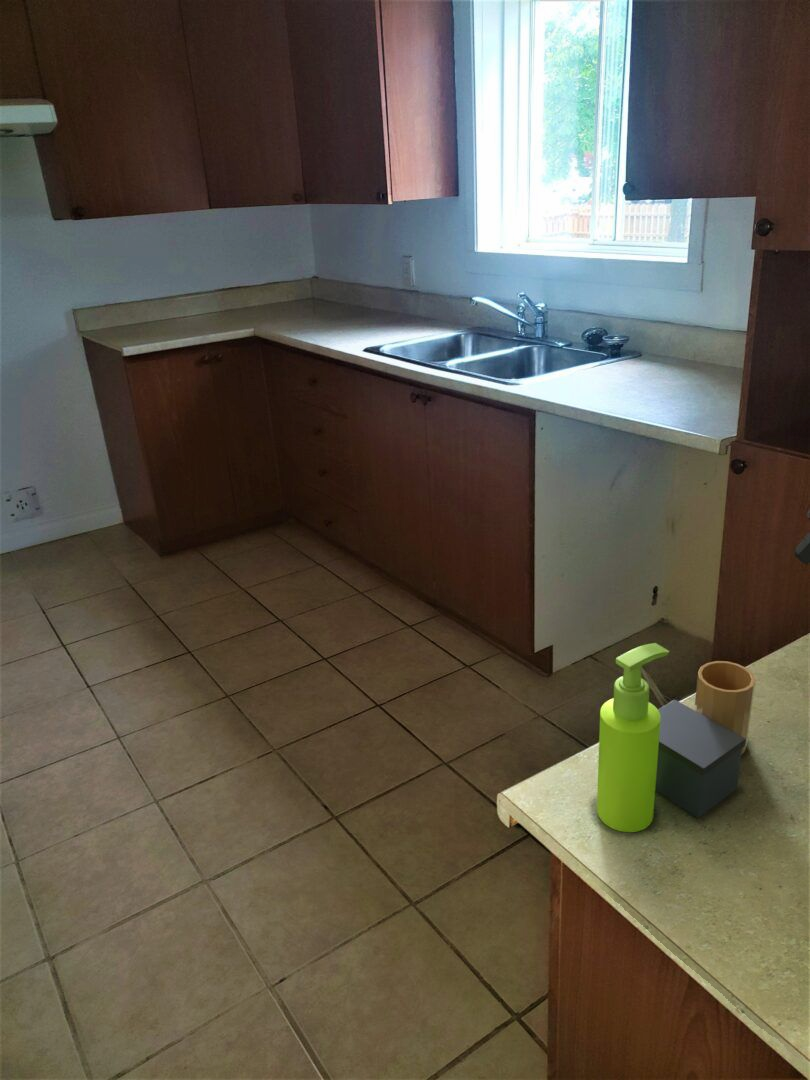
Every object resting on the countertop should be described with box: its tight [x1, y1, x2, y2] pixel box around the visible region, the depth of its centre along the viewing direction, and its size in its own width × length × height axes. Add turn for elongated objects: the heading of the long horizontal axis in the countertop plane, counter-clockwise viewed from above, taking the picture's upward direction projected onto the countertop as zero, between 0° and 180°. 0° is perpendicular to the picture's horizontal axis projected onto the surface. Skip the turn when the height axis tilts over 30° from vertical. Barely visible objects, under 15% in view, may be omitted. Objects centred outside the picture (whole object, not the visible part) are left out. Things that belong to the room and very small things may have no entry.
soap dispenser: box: [596, 642, 671, 833], centre depth 84 cm, size 6×7×20 cm
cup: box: [693, 660, 756, 756], centre depth 94 cm, size 6×6×10 cm
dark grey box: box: [655, 699, 746, 819], centre depth 90 cm, size 9×7×7 cm
